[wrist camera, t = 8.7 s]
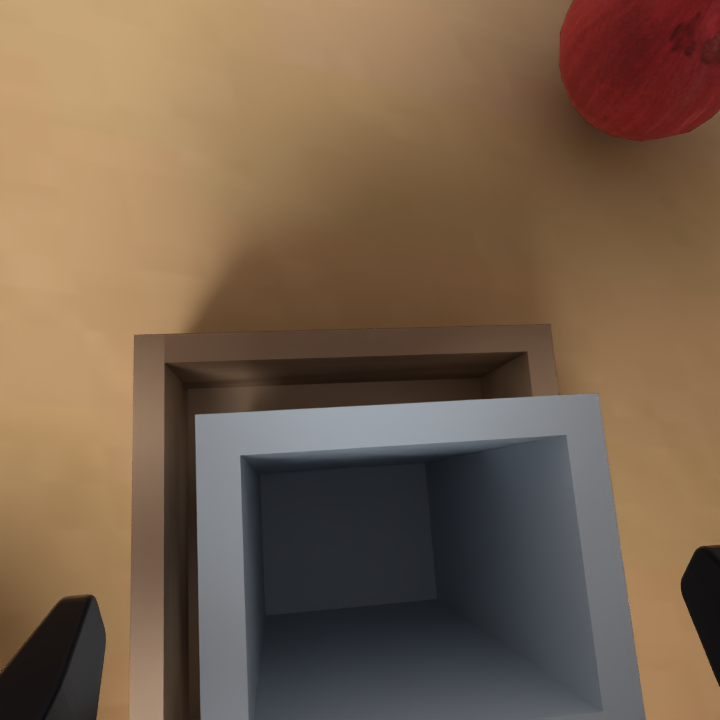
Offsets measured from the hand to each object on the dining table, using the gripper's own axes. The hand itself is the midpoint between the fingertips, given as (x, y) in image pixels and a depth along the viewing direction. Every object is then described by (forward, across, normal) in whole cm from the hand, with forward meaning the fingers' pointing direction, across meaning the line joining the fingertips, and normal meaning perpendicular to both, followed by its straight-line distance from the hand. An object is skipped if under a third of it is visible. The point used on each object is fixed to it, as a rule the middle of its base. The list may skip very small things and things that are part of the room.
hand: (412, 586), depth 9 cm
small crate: (+7, 0, +6) cm, 9 cm away
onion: (+18, -10, -3) cm, 21 cm away
